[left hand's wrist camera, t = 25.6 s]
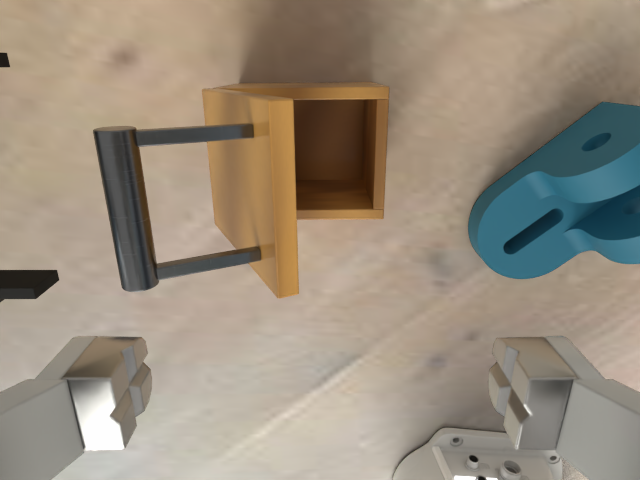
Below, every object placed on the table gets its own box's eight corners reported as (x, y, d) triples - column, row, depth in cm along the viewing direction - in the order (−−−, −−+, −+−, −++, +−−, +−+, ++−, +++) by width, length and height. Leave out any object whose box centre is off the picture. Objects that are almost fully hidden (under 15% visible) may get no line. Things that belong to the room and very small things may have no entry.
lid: (294, 98, 21) (88, 106, 17) (299, 294, 24) (130, 334, 21) (219, 88, 32) (86, 91, 29) (230, 222, 36) (113, 239, 32)
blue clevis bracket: (602, 101, 43) (684, 111, 34) (651, 182, 46) (740, 213, 36) (448, 217, 48) (481, 255, 38) (502, 284, 50) (546, 337, 41)
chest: (372, 82, 43) (389, 86, 33) (369, 185, 47) (383, 219, 36) (238, 83, 43) (212, 88, 33) (245, 186, 47) (224, 220, 36)
